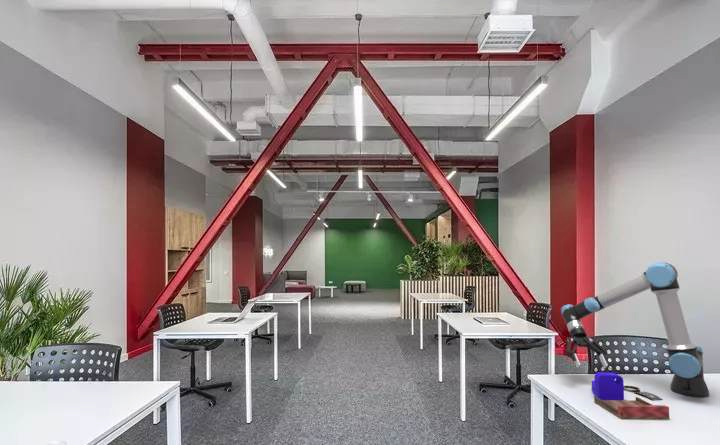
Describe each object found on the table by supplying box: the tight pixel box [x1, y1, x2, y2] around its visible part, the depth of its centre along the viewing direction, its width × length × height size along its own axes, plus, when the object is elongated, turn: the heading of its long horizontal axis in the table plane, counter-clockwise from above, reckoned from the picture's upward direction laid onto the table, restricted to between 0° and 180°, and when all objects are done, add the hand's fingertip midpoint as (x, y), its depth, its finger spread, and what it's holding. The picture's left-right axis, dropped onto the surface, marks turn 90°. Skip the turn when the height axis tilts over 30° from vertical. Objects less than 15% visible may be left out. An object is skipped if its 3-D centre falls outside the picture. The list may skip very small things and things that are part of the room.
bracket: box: [591, 371, 625, 400], centre depth 207 cm, size 18×11×12 cm, turn 174°
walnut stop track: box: [593, 396, 670, 421], centre depth 186 cm, size 20×20×5 cm
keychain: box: [624, 385, 663, 401], centre depth 209 cm, size 8×19×2 cm, turn 9°
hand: (592, 366), depth 214 cm, fingers open, 13 cm apart
